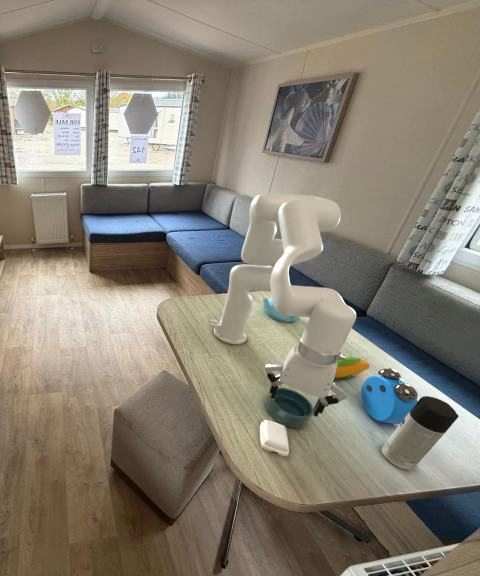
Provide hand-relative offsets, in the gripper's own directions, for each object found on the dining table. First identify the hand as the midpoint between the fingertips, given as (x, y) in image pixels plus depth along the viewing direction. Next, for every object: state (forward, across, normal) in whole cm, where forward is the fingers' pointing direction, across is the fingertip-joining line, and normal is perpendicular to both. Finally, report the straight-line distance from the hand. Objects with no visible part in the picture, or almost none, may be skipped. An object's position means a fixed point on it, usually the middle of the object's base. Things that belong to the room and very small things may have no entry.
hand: (293, 403), depth 79 cm
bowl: (+14, -1, -11) cm, 18 cm away
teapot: (+13, +6, -73) cm, 75 cm away
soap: (+14, +1, +1) cm, 14 cm away
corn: (+14, -15, -42) cm, 47 cm away
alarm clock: (+14, -24, -27) cm, 39 cm away
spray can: (+14, -27, -12) cm, 33 cm away
